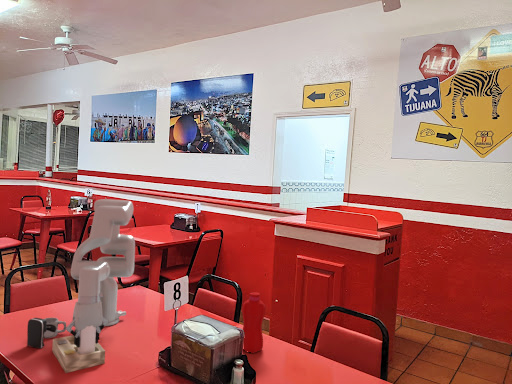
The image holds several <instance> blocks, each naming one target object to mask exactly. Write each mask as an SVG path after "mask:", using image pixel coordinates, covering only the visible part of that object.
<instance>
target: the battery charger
mask: <svg viewBox="0 0 512 384" xmlns="http://www.w3.org/2000/svg"><path fill="white" fill-rule="evenodd" d="M26 328H27V330H26V331H27V332H26V333H27V341H26V342H27V344H26V346H28V347H31V348H35V349H43V348H44V347H45V343H44V339H45V338H44V332H46V331H47V322H46V320H45V318H40V317H34V318H30V319H29V320H28V321H27V327H26Z"/></svg>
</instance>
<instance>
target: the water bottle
mask: <svg viewBox="0 0 512 384" xmlns="http://www.w3.org/2000/svg"><path fill="white" fill-rule="evenodd" d="M260 297H261V294H260V292H250V293H249V298H248V299H247V300H245V301H244V302H243V305H242V308H241V314H242V315H241V316H242V321H243V323H242V324H243V327H242V329H243V330H244V332H245V338H244V350H245V351H244V350H243V351H244V352H246V351H248V352H251V353H250V354H254V353H253V352H255V353H257V352H260V351H261V350H263V347H264V337H263V329H262V327H263V326H262V325H263V321H264V318H265V316H266V305H265V304H264V302H263V301H262V300H260ZM248 352H247V353H248Z"/></svg>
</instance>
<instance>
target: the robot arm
mask: <svg viewBox="0 0 512 384" xmlns="http://www.w3.org/2000/svg"><path fill="white" fill-rule="evenodd" d="M134 207H135V206H134V204H133V202H132V201H131V200H127V199H126V200H124V199H113V198H112V199H111V198H109V199H108V198H103V199H97V200H95V201H94V203H93V211H94V213H93V214H94V215H93V219H92V223H91V229H90V234H89V237H88V238H86V239H85V240H84V241H83V242H82V243H80V245H79V246H78V247H77V249H76V250H75V252H74V254H73V258H72V261H71V262H72V263H71V268H70V276H71V277H72V278H73V280H77V281H78V292H77V293H78V294H77V295H78V296H77V297H78V298H77V301H76V302H75V304H74V308H73V313H72V321H71V322H69V324H68V325H66V331H67V332H68V333H70V335H71V336H72V335H73V336H74V345H76V346H77V348H79V347H80V337H79V334H80V332H81V330H83V329H85V328H86V326H91V325H93V327H96V341H95V343H96V344H97V343H99V341H100V335H101V334H100V333H101V331H103V329H104V328H105V327H109V326H113V325H116V324H118V323H119V322H120V317H123V316H127V311H125V310H124V311H122V310H118V311H117V307H118V306H117V305H118V291H119V290H118V288H119V286H118V283H117V281H116V279H115V278H129V277H131V276H133V275H134V272H135V259H136V257H135V256H136V240H135V237H134V236H133V235H130V234H121V233H120V227H122V226H127V225H128V224H129V223H130V221H131V219H132V217H133V215H134V209H135V208H134ZM97 248H99V249H100V252H101V253H102V254H105V255H122V256H101V257H99V258H98V259H97V260H82V259H83V257H84V256H85V255H86V254H87V253H89V252H90V251H92V250H95V249H97ZM73 327H74V330H73V329H72V328H73Z"/></svg>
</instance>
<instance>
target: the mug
mask: <svg viewBox="0 0 512 384" xmlns="http://www.w3.org/2000/svg"><path fill="white" fill-rule="evenodd" d="M44 319H45V320H46V322H47V331H46V332H44V338H43V339H54V338H55V337H57V336H58V335H59V334H62V333H64V332H66V331H67V330H66V327H67V322H66V321H64V320H63V321H62V320H59V318H57V317H46V318H44ZM59 325H63V329H59Z"/></svg>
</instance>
